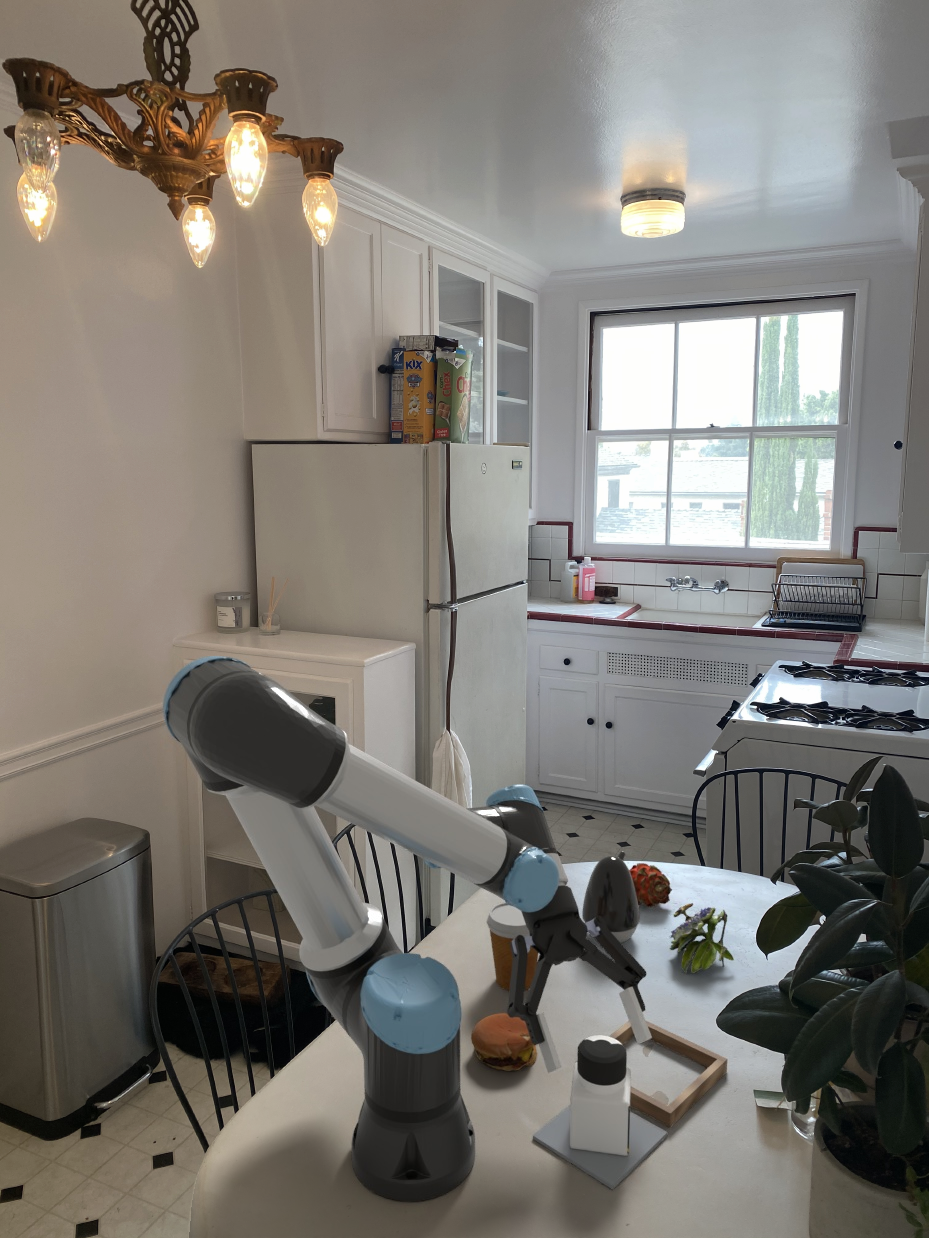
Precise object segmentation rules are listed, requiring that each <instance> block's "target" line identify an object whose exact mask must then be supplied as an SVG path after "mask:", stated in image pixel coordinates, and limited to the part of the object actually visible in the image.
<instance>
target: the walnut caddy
mask: <svg viewBox="0 0 929 1238" xmlns="http://www.w3.org/2000/svg"><path fill="white" fill-rule="evenodd" d="M645 1021H646V1023H647V1026H648V1028H649V1031H650V1034H651V1036H652V1038H651V1039H649V1040H650V1041H652V1042H654V1043H655V1044H657V1045H660V1046H662V1047H664V1048H666V1049H668V1050H670V1051H672V1052H674V1053H675V1054H676V1053H677V1054H679V1055H680V1056H683V1057H684V1058H686V1059H689V1060H691V1061H693V1062H695V1063H697V1064H699V1065H701V1066H703V1067H706V1069H705V1070H704V1071H703V1072H702V1073H701V1074H700V1075H699V1076H698V1077H697V1078H696V1079H695V1080H693V1081H692V1082H691V1083H690V1084H689V1085H688V1086H687V1087H686V1088H685V1089H684V1090H683V1091H682V1092H681V1093H680V1094H679V1095H677V1096H676V1097H675V1098H674V1100H672V1101H671V1102H670V1103H669V1104H668V1105H667V1104H665V1103H663V1102H662V1101H659V1100H657V1099H656V1098H654V1097H653V1096H651V1095H648V1094H646V1093H645V1092H642V1091H641V1090H639V1089H636V1088H635V1087H634V1086H631V1093H630V1107H632V1108H634V1109H635V1110H638V1111H639V1112H640V1113H643V1114H645V1115H647V1116H648V1117H650V1118H652V1120H653V1119H654V1120H655V1121H658V1122H659V1123H661V1124H663V1125H664V1126H667V1127H668V1128H672V1126H673V1125H675V1123H677V1121H678V1120H680V1119H681V1118H682V1117H683V1116H684V1115H685V1114H686V1113H687V1112H688V1111H689V1110H690V1109H691V1108H692V1107H693V1106H694V1105H695V1104H696V1103H697V1102H698V1101H699V1100H700V1099H701V1098H702V1097H703V1096H704V1095H705V1094H706V1093H707V1092H708V1091H710V1089H712V1088H713V1086H715V1084H716V1083H717V1082H718V1081H719V1080H720V1079H721V1078H723V1077H724V1076H725V1074H727V1072H728V1058H726V1057H725V1056H723V1055H720V1054H718V1053H715V1052H714V1051H711V1050H709V1049H707V1048H705V1047H703V1046H701V1045H698V1044H697V1043H694V1042H692V1041H691V1040H688V1039H686V1038H684V1037H682V1036H680V1035H677V1034H676V1033H673V1032H671V1031H669V1030H667V1029H664V1028H662V1027H660V1026H658V1025H656V1024H654V1023H652V1022H649V1021H647V1020H646V1019H645ZM607 1036H608V1037H611V1038H614V1039H616V1040H618V1041H619V1042H620V1043H621V1044H622V1045H623V1046H624V1045H625V1044H626V1043H628V1041H630V1040H631V1039H632V1038H633V1037H635V1035H634V1032H633V1030H632V1027H631V1024H630V1022H629V1020H628V1021H626V1022H625V1023H624V1024H623V1025H622V1026H620V1027H619V1028H618V1029H616V1030H615V1031H614V1032H613V1033H611V1034H610V1035H607ZM649 1040H648V1041H649ZM576 1062H577V1060H576V1061H575V1062H574V1064H575V1063H576Z"/></svg>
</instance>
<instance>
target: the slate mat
mask: <svg viewBox="0 0 929 1238" xmlns="http://www.w3.org/2000/svg"><path fill="white" fill-rule="evenodd" d="M667 1136H668V1131H666V1130H664V1129H662V1128H661V1127H659V1126H657V1125H656V1124H653V1123H652V1122H650V1121H648V1120H646V1119H645V1118H642V1117H641V1116H639V1115H637V1114H635V1113H634V1112H632V1111H630V1130H629V1154H628V1155H627V1156H623V1155H615V1154H608V1153H601V1152H594V1151H587V1150H580V1149H573V1148H571V1147H570V1104H569V1105H568V1106H567V1107H565V1108H564V1109H563V1110H561V1111H560V1112H559V1113H558V1114H557V1115H556V1116H555V1117H553V1118H552V1119H550V1121H548V1122H547V1123H546V1124H544V1125H543V1126H542V1127H541V1128H540V1129H539V1130H537V1131H536V1132H535V1133H534V1134H532V1139H533V1140H534V1141H536V1143H539V1144H540V1145H542V1146H544V1147H545V1148H547V1149H548V1150H550V1151H551V1152H552V1153H555V1154H556V1155H557V1156H559V1157H561V1158H562V1159H564V1160H565V1161H567V1162H568V1163H570V1164H571V1163H572V1165H573V1166H574V1167H576V1168H577V1169H579V1170H581V1171H583V1172H584V1173H586V1174H587V1175H589V1176H590V1177H592V1178H593V1179H595V1180H597V1181H598V1182H600V1183H601V1184H603V1185H605V1186H606V1187H607V1188H609V1189H611V1190H614V1189H615V1188H616V1187H617V1186H619V1185H620V1183H621V1182H623V1180H624V1179H625V1178H626V1177H627V1176H628V1175H629V1174H630V1173H631V1172H633V1171H634V1170H635V1168H636V1167H637V1166H639V1165H640V1163H642V1161H644V1160H645V1158H646V1157H648V1155H650V1154H651V1153H652V1151H654V1150H655V1148H657V1147H658V1145H660V1143H662V1142H663V1141H664V1140H665V1139H666V1138H667Z"/></svg>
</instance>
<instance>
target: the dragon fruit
mask: <svg viewBox="0 0 929 1238" xmlns="http://www.w3.org/2000/svg"><path fill="white" fill-rule="evenodd" d="M629 871H630V873H631V876H632V879H633V882H634V885H635V889H636V893H637V898H638V904H639V907H640V906H642V904H644V905H645V907H647V908H655V907H656V906H657V905H659V904H662V905H665V904H667V903H669V902H670V894H671V892H672V891H673V889H672V887H671V886H670V885H671V883H670V880H669V879H668V877H667V876H666V875H665V874H664V873H662V871H661V870H660V869H659V868H658V867H657V866H655V865H649V864H647V863H645V862H644V863H643V862H641V863H640V862H639V863H636V864H634V865H632V866H631V868H630V869H629Z"/></svg>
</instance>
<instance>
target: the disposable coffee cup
mask: <svg viewBox="0 0 929 1238" xmlns="http://www.w3.org/2000/svg"><path fill="white" fill-rule="evenodd" d="M485 919H486V925H487V927H488V929H489V933H490V943H491V949H492V957H493V963H494V964H493V965H494V972H495V979H496V980H495V981H496V984H497V986H498V987H500V988H501V989H503V990H505V991H509V990H510V981H511V971H512V962H513V956H512V952H511V947H510V942H511V941H512V940H513V939H514V938H516V937H517V936H518V935H522V936H523V937H528V936H530V933H529V930H528V928H527V926H526V924H525V921H524V918H523V915H522V912H521V910H519V909H517V908H516V907H513V906H510V905H508V904H507V903H506V902H505V901H502V902H500V903H497V904H494V905H493V906H492V907H491V908H490V909H489V912H488V915H487V916H486V918H485ZM538 958H539V953H538V952H537V951H536V950H534V949H533V948H532V947H531V946H530V951H529V952H528V959H527V969H526V980H525V991H527V990H529V988H530V985H531V982H532V979H533V976H534V973H535V970H536V964H537V961H538Z"/></svg>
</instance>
